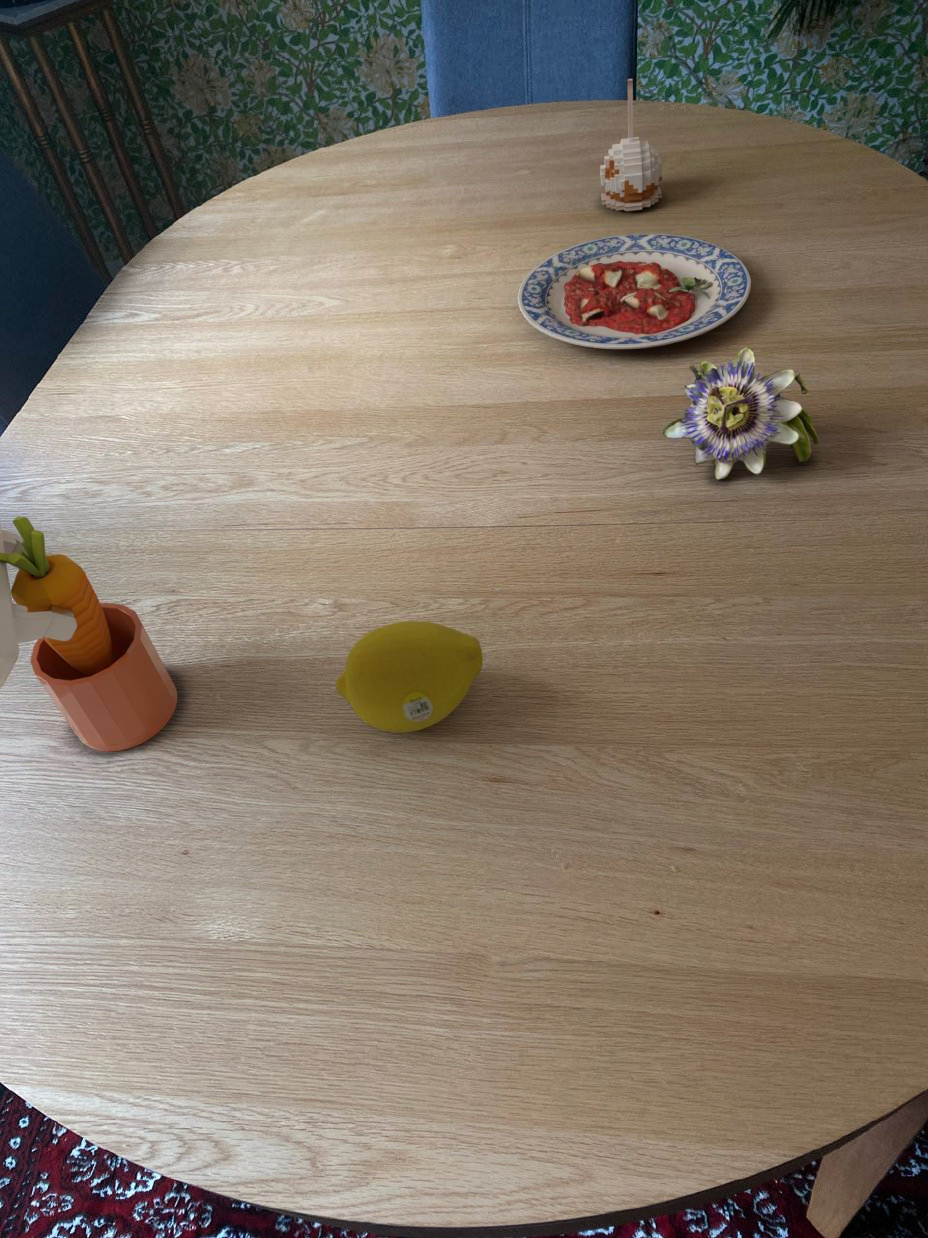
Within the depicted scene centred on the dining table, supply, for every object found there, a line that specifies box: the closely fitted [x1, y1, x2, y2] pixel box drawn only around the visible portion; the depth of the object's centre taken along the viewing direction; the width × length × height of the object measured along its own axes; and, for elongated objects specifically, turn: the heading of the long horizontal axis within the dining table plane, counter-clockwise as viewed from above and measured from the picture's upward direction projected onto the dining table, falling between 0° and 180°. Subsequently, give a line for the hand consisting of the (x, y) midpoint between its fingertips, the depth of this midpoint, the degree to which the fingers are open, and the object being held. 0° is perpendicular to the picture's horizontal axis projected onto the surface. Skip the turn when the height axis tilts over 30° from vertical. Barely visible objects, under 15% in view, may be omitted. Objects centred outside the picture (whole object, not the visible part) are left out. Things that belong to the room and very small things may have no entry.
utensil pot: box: [30, 602, 178, 753], centre depth 75 cm, size 8×8×8 cm
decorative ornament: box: [599, 78, 663, 212], centre depth 125 cm, size 8×8×15 cm
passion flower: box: [662, 345, 820, 481], centre depth 88 cm, size 11×11×12 cm
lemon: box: [335, 620, 484, 734], centre depth 71 cm, size 11×8×8 cm
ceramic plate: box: [517, 233, 752, 350], centre depth 111 cm, size 26×26×3 cm
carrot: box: [0, 516, 112, 676], centre depth 70 cm, size 5×5×15 cm
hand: (66, 598), depth 69 cm, fingers closed on carrot, 5 cm apart
